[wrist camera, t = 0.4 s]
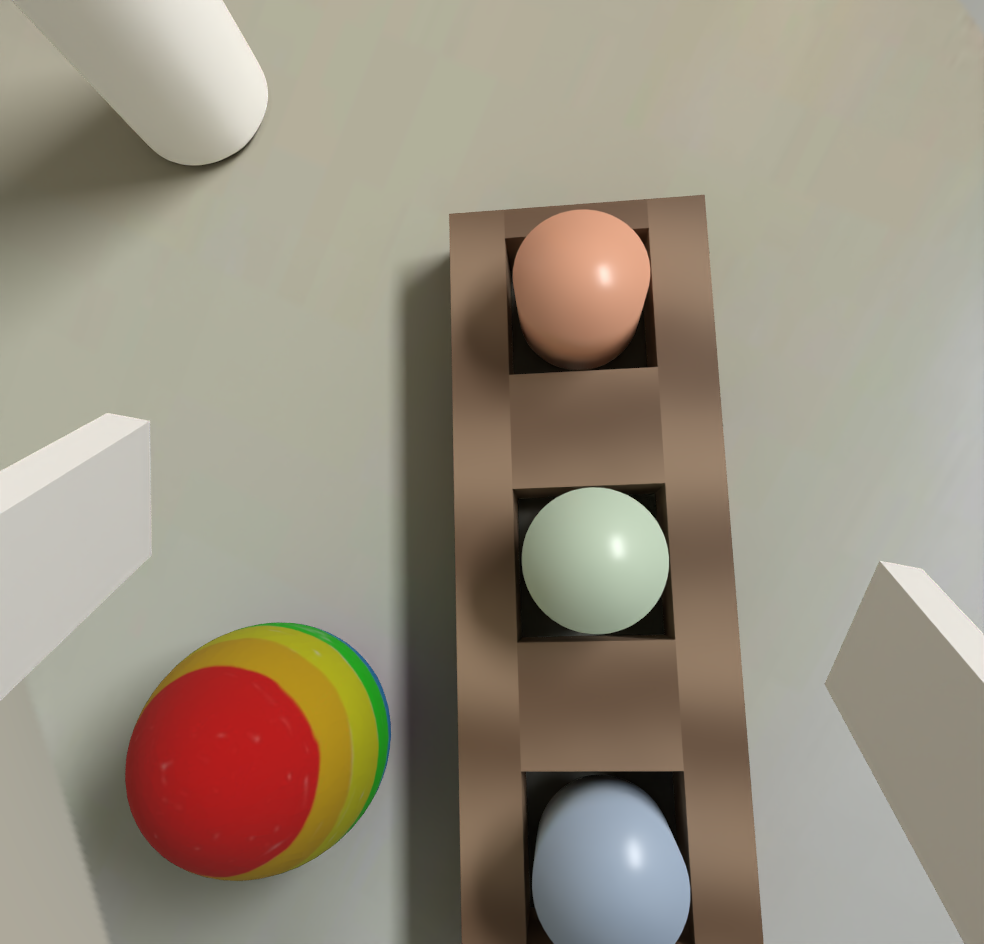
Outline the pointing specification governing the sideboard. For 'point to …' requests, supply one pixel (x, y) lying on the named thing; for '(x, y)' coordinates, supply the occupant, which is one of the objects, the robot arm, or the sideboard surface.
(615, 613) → the sage button
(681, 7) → the sideboard surface
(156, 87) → the can
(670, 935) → the slate blue button
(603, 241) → the terracotta button
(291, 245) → the sideboard surface
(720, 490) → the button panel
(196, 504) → the sideboard surface
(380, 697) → the decorative egg
